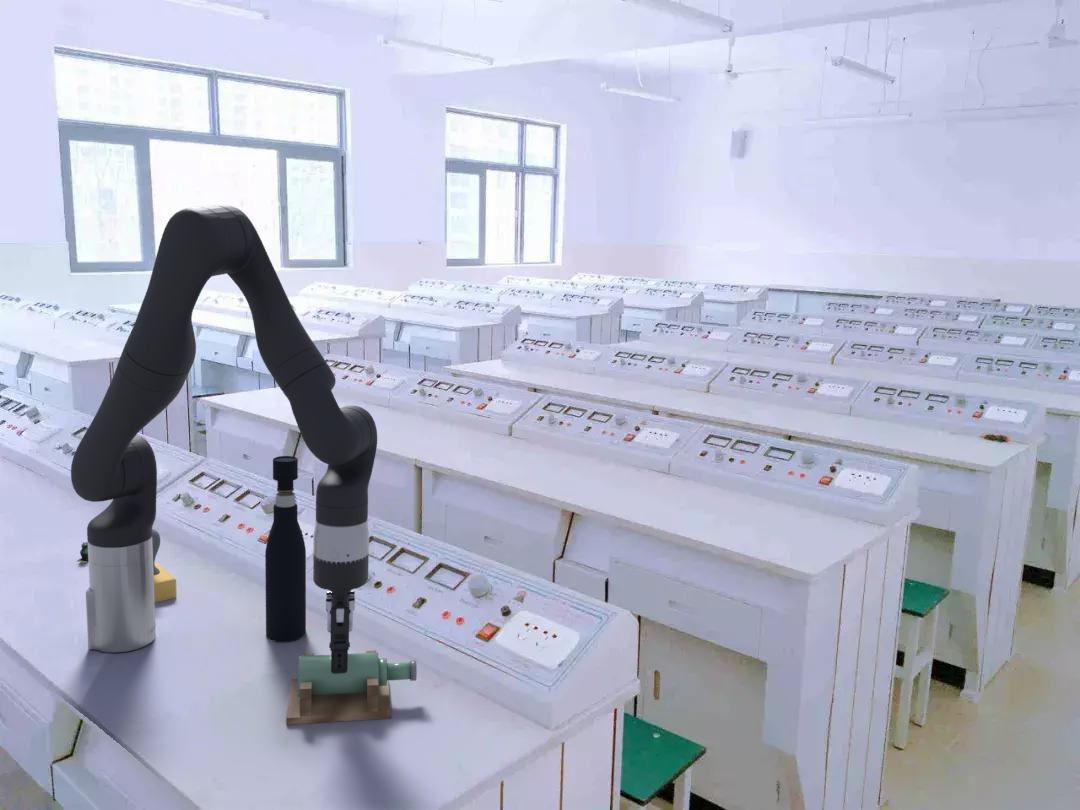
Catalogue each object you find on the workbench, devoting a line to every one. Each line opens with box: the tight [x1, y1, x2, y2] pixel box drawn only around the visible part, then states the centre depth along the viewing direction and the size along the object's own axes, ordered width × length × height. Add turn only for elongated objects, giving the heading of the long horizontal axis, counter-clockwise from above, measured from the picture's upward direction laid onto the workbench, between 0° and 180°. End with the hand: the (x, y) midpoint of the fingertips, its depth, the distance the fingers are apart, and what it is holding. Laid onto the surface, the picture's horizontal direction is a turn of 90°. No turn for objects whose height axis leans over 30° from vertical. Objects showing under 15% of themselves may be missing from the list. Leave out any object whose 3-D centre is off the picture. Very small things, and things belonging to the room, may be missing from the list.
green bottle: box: [297, 652, 418, 697], centre depth 128 cm, size 16×6×6 cm, turn 101°
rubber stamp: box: [152, 528, 178, 603], centre depth 162 cm, size 10×6×12 cm, turn 41°
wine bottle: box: [264, 455, 307, 643], centre depth 146 cm, size 6×6×30 cm
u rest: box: [285, 649, 392, 726], centre depth 128 cm, size 14×11×5 cm
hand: (339, 657), depth 127 cm, fingers open, 8 cm apart
